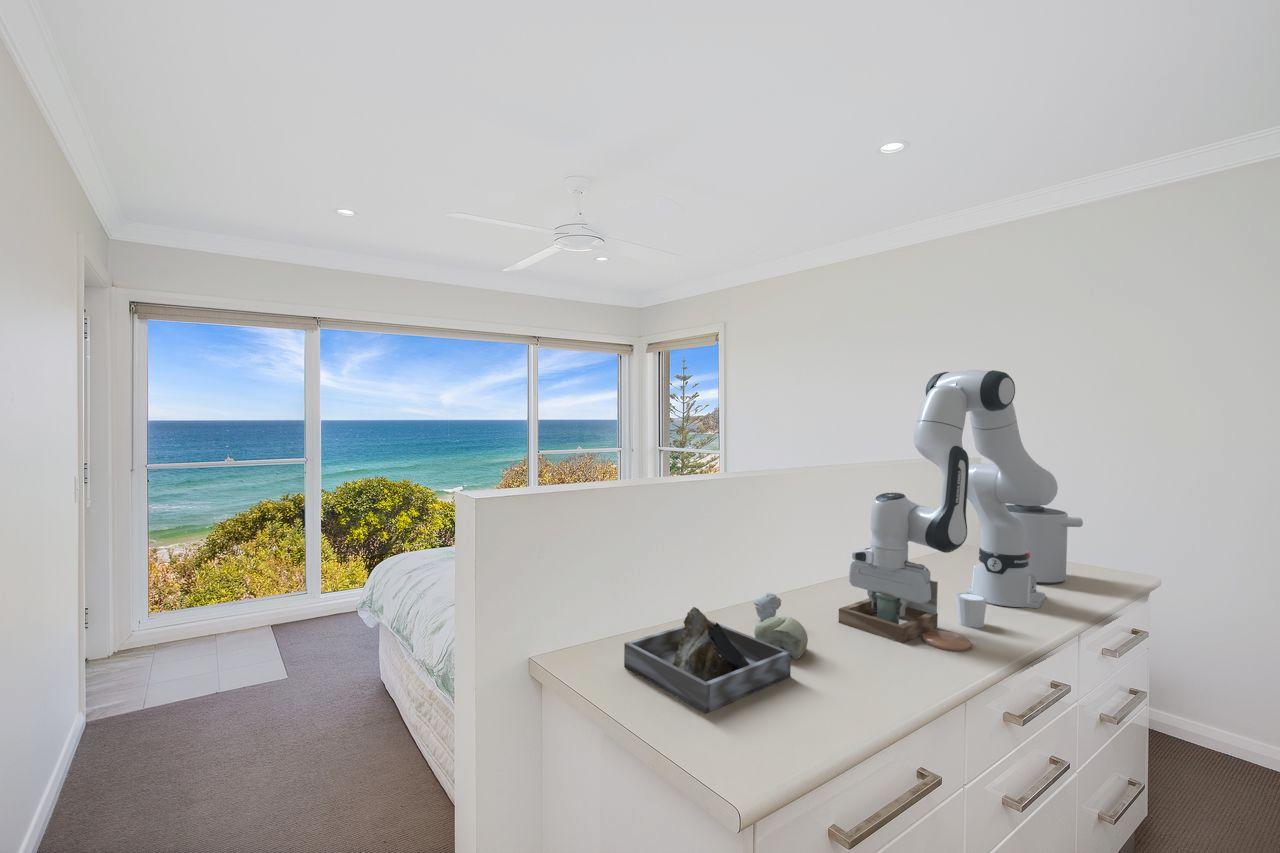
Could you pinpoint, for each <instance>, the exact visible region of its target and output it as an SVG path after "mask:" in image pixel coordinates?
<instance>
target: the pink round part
mask: <svg viewBox="0 0 1280 853" xmlns="http://www.w3.org/2000/svg"><path fill="white" fill-rule="evenodd" d="M922 641H923V642H924V643H925V644H927V645H929V646H930V647H933V648H935V649H940V650H944V651H948V652H949V651H951V652H966V651H968V650H970V649H971V648H972V647H971V646H972V642H971V640H970V639H969V638H968V637H966V636H964V635H961V634H958V633H956V632H951V631H947V630H946V631H945V630H938V629H937V630H934V629H932V630H930V631H926V632H924V633H923V634H922Z"/></svg>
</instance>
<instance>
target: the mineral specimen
mask: <svg viewBox="0 0 1280 853" xmlns="http://www.w3.org/2000/svg"><path fill="white" fill-rule="evenodd" d="M686 614H687V615H686V616H685V618H684V620H683V626H684V625H685V627H684V630H685V631H684V632H683V635H682V637H681V642H680V644H679V650H678V651H677V653H676V654H675V656H674V657H675V659H674V661H673V663H672V665H674V666H676V667H678V668H680V669H682V670H684V671H686V672H688V673H690V674H692V675H694V676H696V677H697V678H699V679H701V680H703V681H705V682H707V681H710V680H712V679H715V678H718V677H720V676H723V675H725V674H728V673H731V672H733V671H736V670H738V669H741V668H743V667H746V666H749V663H748V661H747V660H746V658H745V657H744V656H743V655H742V653H741V652H740V651H739V650H738V649H737V648H736V647H735V646H733V645H732V644H731V642H730V640H729V639H728V637H727V636H726V635H725V634H724V631H723V630H722V628H721V627H720V625H719V624H720V623H718V622H717V621H715V622H716V624H715V625H713V624H712V623H711V622H710V621H709V620H710V619H708V618H707V617H706V615H705V614H704V613H703V612H702V611H700V610H699V608H697V607H695V606H693V607H692V608H690V610H689V611H688V612H687V613H686Z"/></svg>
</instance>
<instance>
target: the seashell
mask: <svg viewBox="0 0 1280 853" xmlns="http://www.w3.org/2000/svg"><path fill="white" fill-rule="evenodd" d="M753 635H754V638H756V639H759V640H761V641H764V642H766V643H769V644H771V645H774V646H776V647H779V648H781V649H784V650H786V651H789V652H791V658H793V659H794V660H799V659H800V657H802V655H803V654H804V652H805V651H806V649H807V647H808V643H809V642H808V641H809V638H808V637H809V636H808V633H807V631H806V629H805V627H804V626H803V624H802V623H800V621H798V620H796V619H795V618H793V617H791V616H776V615H775V617H771V618H767V619H766V620H762V621H760V622H759V623H757V624H756V626H755V627H754V632H753Z"/></svg>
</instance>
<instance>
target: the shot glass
mask: <svg viewBox="0 0 1280 853" xmlns="http://www.w3.org/2000/svg"><path fill="white" fill-rule="evenodd" d="M955 596H956V599H955V600H956V608H957V622H958V624H960V625H962V626H964V627H969V628H976V629H977V628H979V629H980V628H983V627H984V625H985V617H986V609H987V603H988V602H987V599H986V598H985V597H983V596H980V595H977V594H971V593H968V592H959V593H956V595H955Z"/></svg>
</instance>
